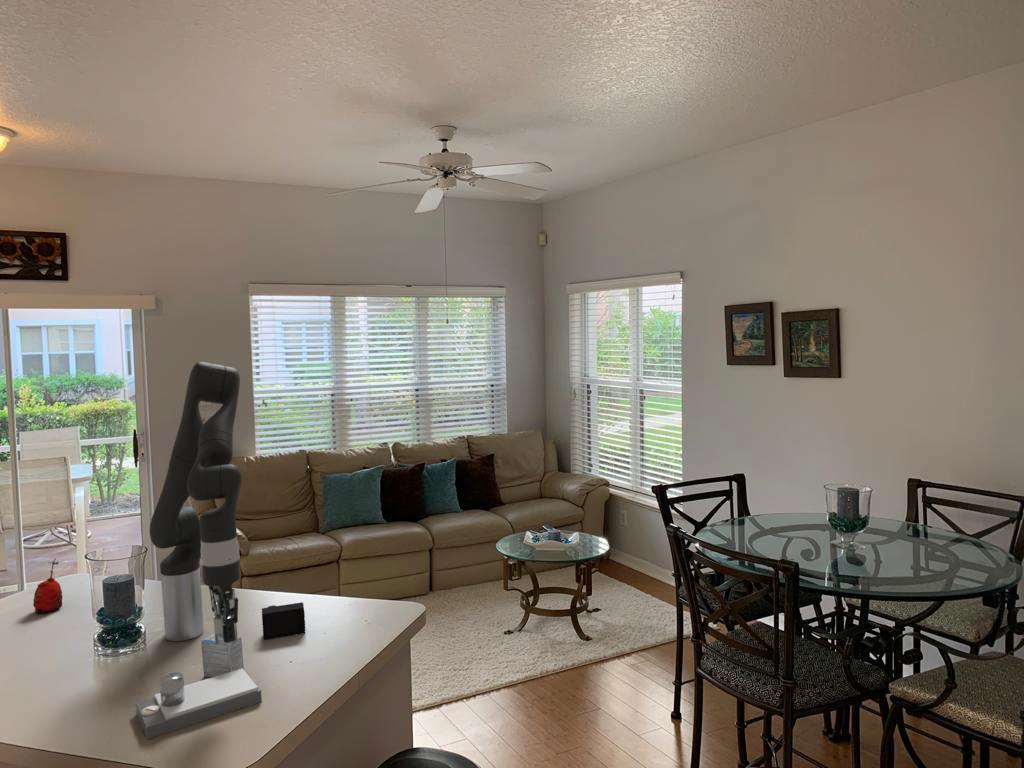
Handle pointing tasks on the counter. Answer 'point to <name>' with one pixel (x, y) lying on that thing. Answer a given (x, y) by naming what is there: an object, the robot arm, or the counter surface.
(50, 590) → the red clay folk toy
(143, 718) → the scale
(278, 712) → the counter surface
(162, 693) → the cylinder
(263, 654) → the counter surface
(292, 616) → the digital camera
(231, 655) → the medicine box
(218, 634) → the cylinder
